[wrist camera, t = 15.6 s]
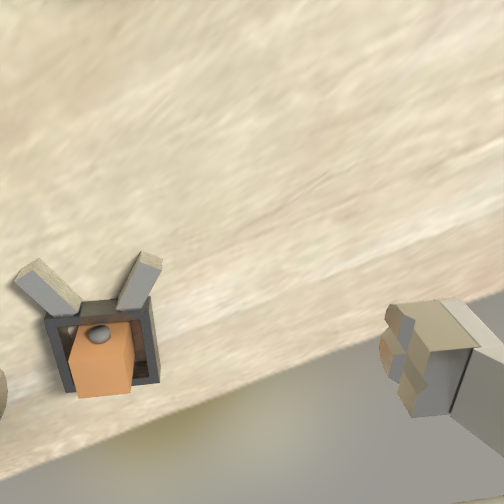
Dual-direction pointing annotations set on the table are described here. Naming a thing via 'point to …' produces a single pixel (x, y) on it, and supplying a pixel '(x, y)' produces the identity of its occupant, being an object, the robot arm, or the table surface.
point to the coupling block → (102, 359)
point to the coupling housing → (96, 312)
